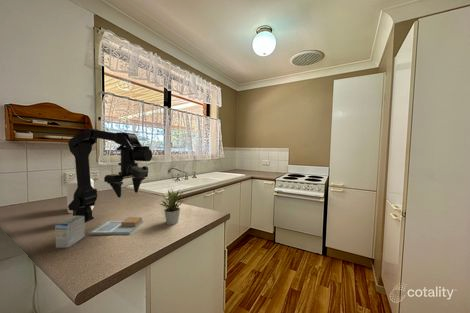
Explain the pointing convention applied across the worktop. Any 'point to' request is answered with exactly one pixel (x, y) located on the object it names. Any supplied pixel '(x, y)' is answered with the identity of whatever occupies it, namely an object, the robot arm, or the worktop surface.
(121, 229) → the board
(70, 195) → the bottle
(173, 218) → the house plant
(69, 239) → the medicine box
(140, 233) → the worktop surface
